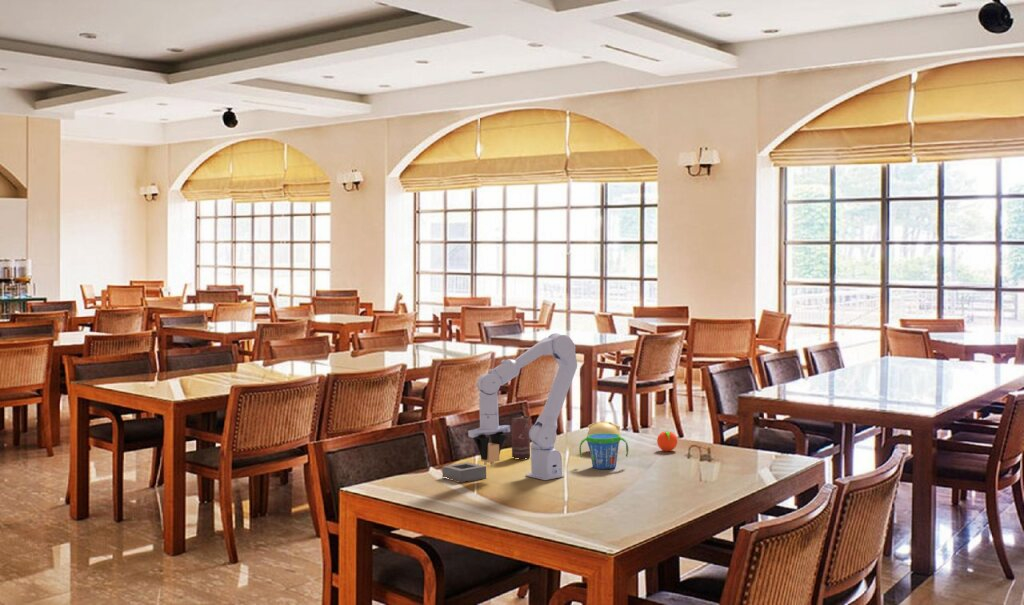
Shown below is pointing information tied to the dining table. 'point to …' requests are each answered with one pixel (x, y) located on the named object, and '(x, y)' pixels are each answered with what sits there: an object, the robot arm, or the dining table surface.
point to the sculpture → (603, 428)
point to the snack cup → (603, 449)
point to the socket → (464, 472)
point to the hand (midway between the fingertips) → (490, 458)
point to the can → (520, 437)
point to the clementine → (667, 441)
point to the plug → (492, 454)
